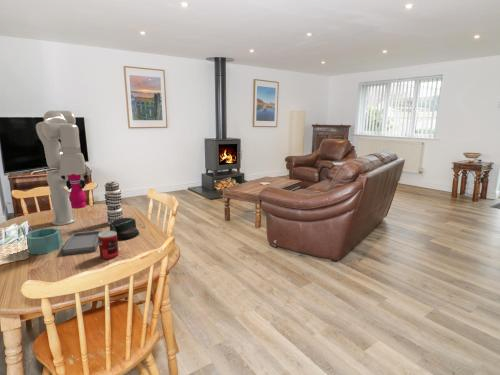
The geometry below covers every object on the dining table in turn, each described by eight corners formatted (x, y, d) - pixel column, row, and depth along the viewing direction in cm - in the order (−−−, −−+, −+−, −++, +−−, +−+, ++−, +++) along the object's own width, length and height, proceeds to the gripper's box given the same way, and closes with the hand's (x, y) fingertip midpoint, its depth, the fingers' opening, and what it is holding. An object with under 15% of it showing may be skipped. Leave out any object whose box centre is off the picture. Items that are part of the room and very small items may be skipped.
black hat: (135, 243, 156) (134, 226, 154) (96, 243, 156) (94, 226, 154) (147, 229, 176) (146, 213, 173) (112, 229, 175) (110, 214, 173)
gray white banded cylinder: (127, 221, 187) (123, 181, 181) (114, 225, 179) (110, 184, 173) (117, 218, 191) (113, 180, 186) (104, 223, 183) (99, 183, 178)
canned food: (104, 252, 145) (101, 230, 142) (121, 251, 146) (119, 230, 143) (97, 259, 137) (94, 237, 135) (115, 259, 138) (113, 236, 136)
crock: (34, 244, 153) (31, 229, 151) (64, 241, 157) (62, 226, 155) (23, 256, 141) (20, 240, 139) (57, 252, 145) (54, 236, 143)
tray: (73, 237, 162) (72, 233, 161) (102, 234, 166) (101, 230, 166) (62, 255, 142) (61, 250, 141) (95, 251, 146) (95, 246, 145)
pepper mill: (90, 205, 152) (85, 165, 147) (78, 209, 145) (72, 168, 140) (79, 204, 154) (74, 165, 149) (66, 208, 147) (61, 167, 143)
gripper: (48, 152, 137) (54, 191, 141) (90, 151, 142) (94, 189, 146) (53, 150, 144) (58, 187, 148) (93, 149, 149) (97, 185, 153)
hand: (76, 188), depth 147 cm, fingers closed on pepper mill, 5 cm apart
